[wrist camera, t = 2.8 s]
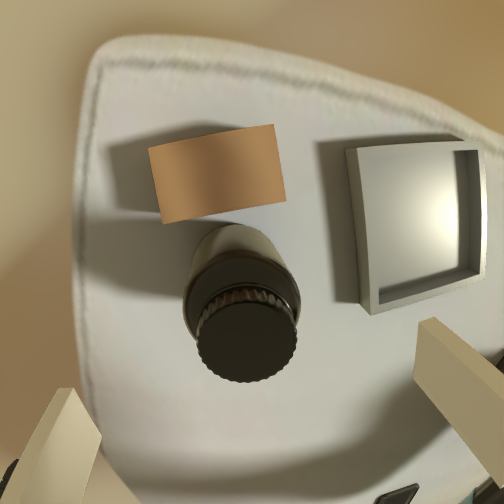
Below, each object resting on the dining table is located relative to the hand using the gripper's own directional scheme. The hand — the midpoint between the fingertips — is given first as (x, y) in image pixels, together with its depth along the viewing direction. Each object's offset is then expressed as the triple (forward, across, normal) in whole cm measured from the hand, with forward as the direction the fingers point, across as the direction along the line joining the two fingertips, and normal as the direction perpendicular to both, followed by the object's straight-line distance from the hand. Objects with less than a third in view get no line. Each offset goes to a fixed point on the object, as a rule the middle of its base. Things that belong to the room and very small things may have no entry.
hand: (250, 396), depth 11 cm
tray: (+16, -17, -1) cm, 24 cm away
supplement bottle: (+16, 0, 0) cm, 16 cm away
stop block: (+16, 0, -7) cm, 18 cm away
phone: (+16, -18, +52) cm, 58 cm away
